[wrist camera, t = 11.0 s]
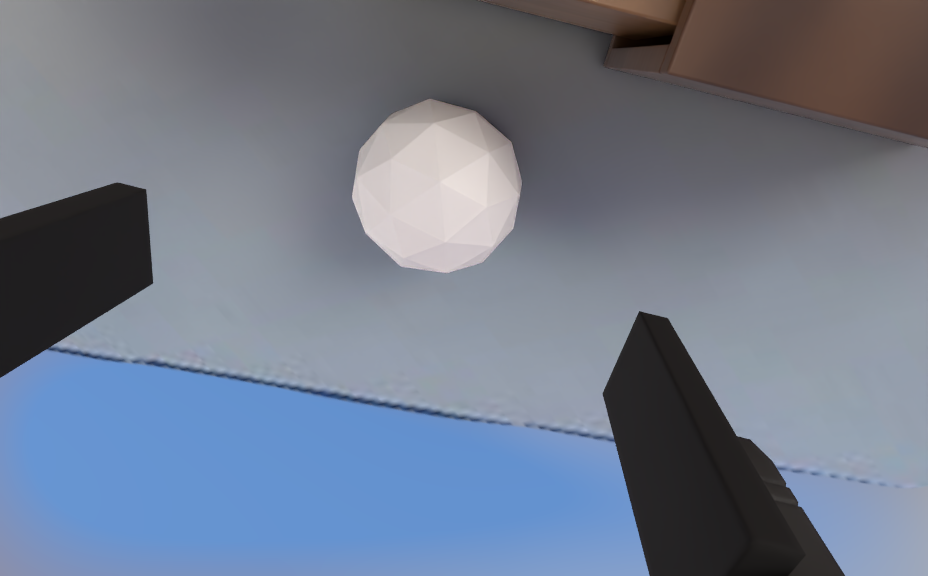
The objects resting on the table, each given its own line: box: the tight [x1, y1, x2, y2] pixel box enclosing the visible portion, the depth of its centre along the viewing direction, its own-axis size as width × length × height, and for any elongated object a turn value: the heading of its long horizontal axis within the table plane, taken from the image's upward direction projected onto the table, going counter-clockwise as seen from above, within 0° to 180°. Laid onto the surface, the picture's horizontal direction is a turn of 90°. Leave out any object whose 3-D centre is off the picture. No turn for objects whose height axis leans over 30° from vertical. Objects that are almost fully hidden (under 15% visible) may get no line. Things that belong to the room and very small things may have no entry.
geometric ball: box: [352, 99, 522, 273], centre depth 22 cm, size 8×8×8 cm
